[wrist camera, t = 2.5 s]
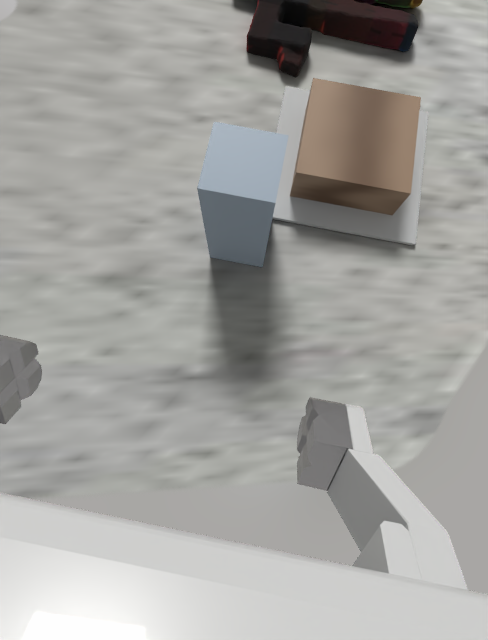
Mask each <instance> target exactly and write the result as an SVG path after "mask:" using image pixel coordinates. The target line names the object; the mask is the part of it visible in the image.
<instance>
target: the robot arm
mask: <svg viewBox="0 0 488 640" xmlns="http://www.w3.org/2000/svg"><path fill="white" fill-rule="evenodd" d="M37 355H38V349H37V345H36V344H35V343H33V342H30V341H25V340H21V339H16V338H12V337H8V336H3V335H0V423H2V424H6V423H7V422H8V421H9V420H10V419H11V418H12V417H13V415H14V414H15V413H16V412H17V411H18V410H19V409H20V408H21V400H22V399H25V398H27V397H29V396H31V395H32V394H33V393H34V392H35V390H36V389H37V388H38V385H39V383H40V381H41V377H42V369H41V365H40V364H39V362H38V361H37V360H36V359H35V357H36V356H37ZM297 450H298V451H299V453H300V456H299V459H298V462H297V484H300V485H305V486H309V487H313V488H317V489H322V490H326V491H328V492H327V493H328V495H329V496H330V498H331V500H332V502H333V503H334V505H335V507H336V509H337V510H338V512H339V514H340V516H341V518H342V519H343V521H344V523H345V525H346V526H347V528H348V530H349V532H350V533H351V535H352V537H353V539H354V540H355V542H356V544H357V546H358V548H359V549H360V551H361V554H360V555H359V557H358V558H357V560H356V561H355V562H354V564H353V565H352V566H351V565H346V564H341V563H336V562H331V561H327V560H322V559H317V558H312V557H307V556H302V555H298V554H293V553H288V552H283V551H279V550H273V549H269V548H264V547H259V546H255V545H249V544H245V543H240V542H235V541H230V540H226V539H221V538H216V537H211V536H207V535H202V534H197V533H192V532H187V531H183V530H178V529H173V528H168V527H163V526H158V525H154V524H149V523H144V522H139V521H134V520H130V519H125V518H119V517H115V516H110V515H105V514H101V513H95V512H91V511H86V510H81V509H77V508H72V507H67V506H62V505H57V504H52V503H48V502H43V501H38V500H33V499H29V498H24V497H19V496H14V495H9V494H5V493H0V640H488V594H484V593H480V592H475V591H471V590H468V589H467V586H466V583H465V580H464V577H463V574H462V571H461V569H460V566H459V563H458V560H457V557H456V554H455V551H454V548H453V546H452V543H451V540H450V537H449V534H448V532H447V531H446V530H445V529H444V528H443V527H442V525H441V524H440V523H439V522H438V521H437V520H436V519H435V517H434V516H433V515H432V514H431V513H430V512H429V511H428V510H427V508H426V507H425V506H424V505H423V504H422V503H421V502H420V500H419V499H418V498H417V497H416V496H415V495H414V494H413V493H412V491H411V490H410V489H409V488H408V487H407V486H406V485H405V484H404V483H403V481H402V480H401V479H400V478H399V477H398V476H397V475H396V473H395V472H394V471H393V470H392V469H391V468H390V467H389V465H388V464H387V463H386V462H385V461H384V460H383V459H382V458H381V456H380V455H377V454H374V452H373V447H372V443H371V439H370V434H369V430H368V426H367V421H366V417H365V412H364V409H363V408H362V407H360V406H354V405H349V404H342V403H337V402H332V401H326V400H321V399H316V398H311V397H310V398H309V400H308V402H307V405H306V415H305V416H304V417H302V419H301V422H300V426H299V431H298V437H297Z"/></svg>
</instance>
